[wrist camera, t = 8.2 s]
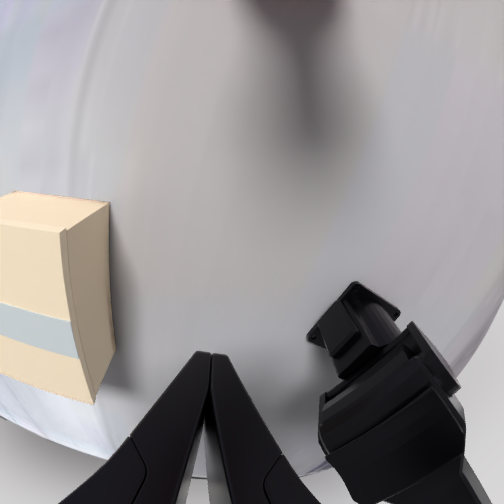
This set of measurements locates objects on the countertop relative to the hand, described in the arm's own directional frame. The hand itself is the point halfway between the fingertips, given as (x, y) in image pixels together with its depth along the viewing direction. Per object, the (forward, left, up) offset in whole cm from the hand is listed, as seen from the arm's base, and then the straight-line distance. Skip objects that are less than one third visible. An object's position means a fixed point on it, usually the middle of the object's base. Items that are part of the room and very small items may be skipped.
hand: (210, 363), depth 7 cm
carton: (+10, +12, -13) cm, 20 cm away
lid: (+10, +12, -7) cm, 17 cm away
